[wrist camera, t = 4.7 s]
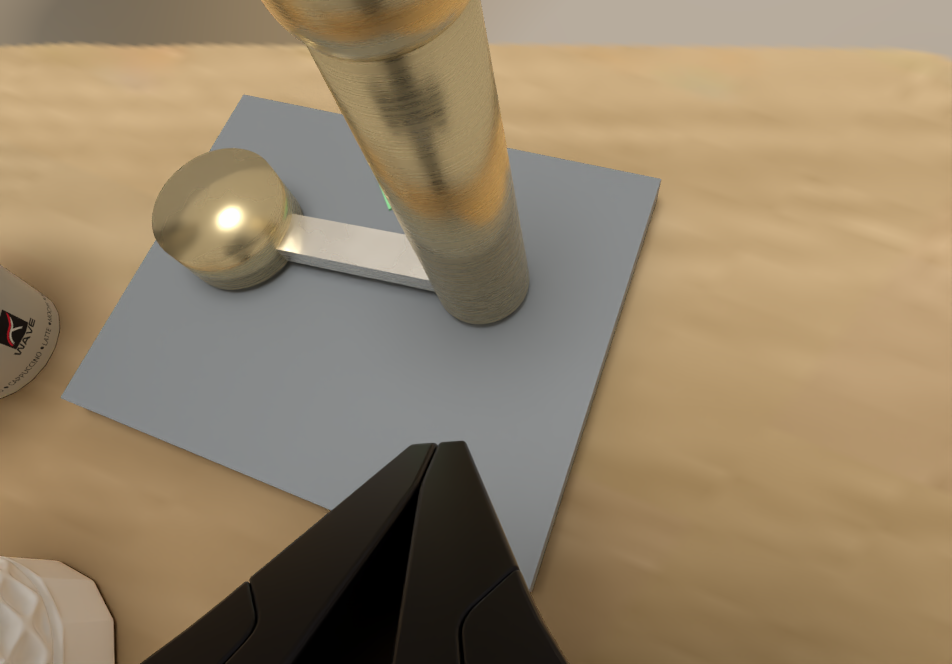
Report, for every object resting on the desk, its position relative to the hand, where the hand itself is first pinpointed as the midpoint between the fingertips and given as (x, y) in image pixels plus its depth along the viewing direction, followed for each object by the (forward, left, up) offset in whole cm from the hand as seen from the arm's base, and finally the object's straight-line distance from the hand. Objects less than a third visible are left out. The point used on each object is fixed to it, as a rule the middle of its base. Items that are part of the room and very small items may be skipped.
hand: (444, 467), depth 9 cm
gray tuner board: (+7, -5, -10) cm, 13 cm away
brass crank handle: (+8, -6, -8) cm, 13 cm away
